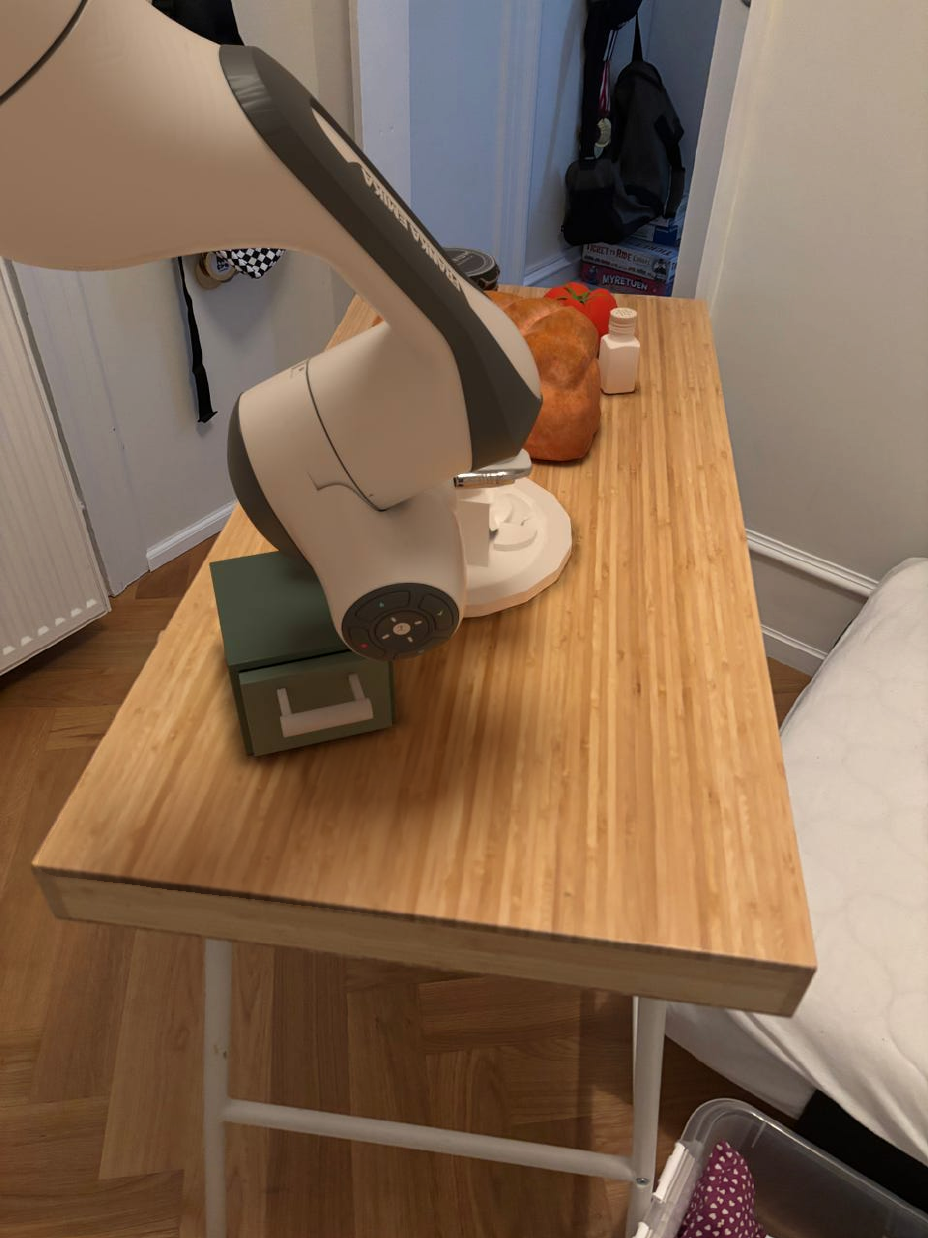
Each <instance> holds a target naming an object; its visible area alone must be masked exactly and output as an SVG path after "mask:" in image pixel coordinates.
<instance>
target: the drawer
mask: <svg viewBox="0 0 928 1238" xmlns="http://www.w3.org/2000/svg"><path fill="white" fill-rule="evenodd" d="M238 675H239V680H240V685H241V690H242V695H243V700H244V705H245V710H246V715H247V720H248V725H249V730H250V735H251V740H252V745H253V750H254V753H253V755H254V757H260V756H265V755H268V754H272V753H278V752H282V751H287V750H292V749H296V748H301V747H303V746H304V747H305V746H309V745H314V744H319V743H323V742H328V741H332V740H337V739H341V738H346V737H351V736H355V735H360V734H364V733H369V732H373V731H378V730H382V729H387V728H391V727H392V726H393V723H392V719H391V703H390V687H389V670H388V661H381V660H375V659H370V658H367V657H364V656H361V655H359V654H357V653H356V652H354V651H352V650H351V649H345V650H340V651H335V652H330V653H325V654H320V655H315V656H310V657H305V658H300V659H295V660H290V661H285V662H280V663H275V664H270V665H265V666H260V667H255V668H250V669H246V672H243V673H239V674H238Z"/></svg>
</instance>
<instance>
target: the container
mask: <svg viewBox="0 0 928 1238" xmlns="http://www.w3.org/2000/svg"><path fill="white" fill-rule="evenodd" d="M441 247H442V248H443V249H444V250H445V251H446V253H447V254H448V255H449V256H450V257H451V258H452V260H453V261H454V262H455V263H456V264H457V265H458V266H459V268H460V269H461V270H462V271H463V272H464V273H465V274H466V275H467V276H468V277H469V278H470V279H472V280H473V281H474V282H475V283H476V284H477V285H478V286H479V287H480V288H481V289H482V290H483V291H498V290H499V282H498V280H499V277H500V275H501V270H502V269H501V268H500V266H499V265H498V263H497V262H496V260H495V257H493V256H492V255H491V254H489V253H487V252H486V251H483V250H480V249H476V248H471V247H464V246H441ZM498 292H499V291H498Z"/></svg>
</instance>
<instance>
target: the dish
mask: <svg viewBox="0 0 928 1238" xmlns="http://www.w3.org/2000/svg"><path fill="white" fill-rule="evenodd" d="M455 492H456V498H457V520H458V522H459V524H460V527H461V530H462V534H463V540H464V547H465V555H466V567H467V595H466V605H465V611H464V615H463V618H475V617H476V618H477V617H484V616H488V615H491V614H494V613H497V612H500V611H504V610H507V609H509V608H512V607H516V606H518V605H522V604H525V603H527V602H528V601H529V600H531V599H533V598H534V597H536V596H537V595H538V594H540V593H541V592H542V591H545V589H547V588H549V586H551V585H552V584H553V583H555V582H557V580H558V579H559V577H560V576H561V574H562V572H563V570H564V568H565V566H566V565H567V563H568V561H569V560H570V558H571V556H572V550H573V549H572V547H573V538H572V537H573V536H572V524H571V517H570V516H569V515H568V513H567V511H566V510H565V509H564V507H563V506H562V504H561V503H560V502H559V501H558V499H557V497H556V496H555V495H554V494H553V493H551V492H549V490H546V489H545V488H543V487H542V486H541V485H539V484H537V483H536V482H534V481H533V480H531V479H530V478H528V477H524V478H521V479H517V480H515V483H514V484H511V485H505V486H501V487H495V488H480V489H459V490H455ZM463 618H462V619H463Z"/></svg>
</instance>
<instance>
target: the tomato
mask: <svg viewBox="0 0 928 1238" xmlns="http://www.w3.org/2000/svg"><path fill="white" fill-rule="evenodd" d="M543 297H547V298H551V299H556V300H557V301H559V302H561V303H563V305H564V306H565V307H568V306H572V307H574V308H575V309H577V310H578V311H579V312H581V313H583V314H584V315H585V316H586V317H587V318H588V319H589V320H590V321H591V322H592V323H593V325H594V326H595V328H596V329H597V332H598V351H600V344H601V338H602V337H603V336H604V335H607V334H609V320H610V311H611V310H613V309H616V308H619V307H618V303H617V300H616V298H615V297H614V296H613V295H612V293H610V291H609V290H608V289H607V288H600V287H599V288H596V289H594V290H590V289H589V288H588V287H587V286H586V285H585V284H582V283H579V282H576V281H575V282H565V283H562V286H553V287H552V288H551V289H550V290H548V291H547V292H546V293H545V294H544V295H543Z"/></svg>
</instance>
